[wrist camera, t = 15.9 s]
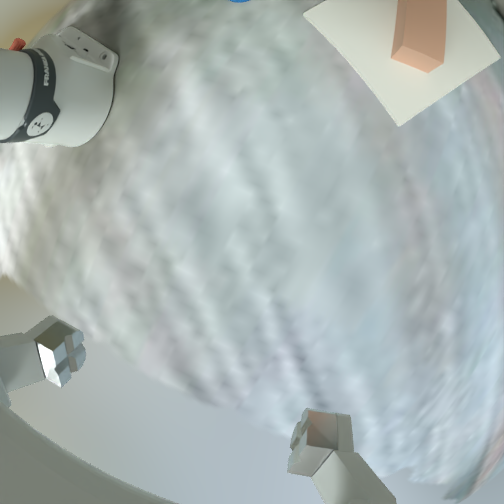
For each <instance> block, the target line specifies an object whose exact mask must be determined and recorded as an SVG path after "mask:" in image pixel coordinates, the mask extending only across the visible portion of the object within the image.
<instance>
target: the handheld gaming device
mask: <svg viewBox="0 0 504 504" xmlns="http://www.w3.org/2000/svg"><path fill="white" fill-rule="evenodd" d="M230 1H232V2H246V1H249V0H230Z"/></svg>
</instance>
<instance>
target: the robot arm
mask: <svg viewBox="0 0 504 504" xmlns="http://www.w3.org/2000/svg"><path fill="white" fill-rule="evenodd" d="M25 45H26V43H25V41H24V40H22V39H20V38H16V39H15V40H14V42H13V44H12V46H11V47H10V48H9V49H2V48H0V143H14V142H23V143H37V144H43V146H44V147H49V148H51V147H54V146H57V145H62V146H67V147H77V146H80V145H82V144H84V143H86V142H87V141H89V140H90V139H91V138H92V137H93V136H94V135H95V134H96V133H97V132H98V131H99V129H100V128H101V127H102V125H103V123H104V121H105V119H106V117H107V115H108V113H109V110H110V107H111V103H112V98H113V77H114V73H115V70H116V67H117V64H118V59H119V58H118V55H117V54H116V53H114V52H113V51H111V50H110V49H108V48H107V47H105V46H104V45H102V44H101V43H99V42H98V41H96V40H94V39H93V38H91V37H90V36H88V35H86V34H85V33H83V32H82V31H80V30H78V29H77V28H75V27H71V26H69V27H67V28H65V29H63V30H62V31H61V32H59V33H58V34H57V35H53V34H47V35H44V36H43V37H41V38H40V39H39V40H37V41H36V42H35V43H34V45H33V46H32V47H31V48H30V49H23V50H22V48H23V47H24V46H25ZM106 56H107V57H106ZM105 57H106V59H105ZM83 341H84V336H83V332H81V331H80V330H78V329H76V328H75V327H73V326H71V325H69V324H67V323H66V322H64V321H62V320H60V319H58V318H56V317H55V316H48V317H47V318H45V319H44V320H43V321H41V322H40V323H39V324H37V325H36V326H34V327H33V328H32V329H30V330H29V331H28V332H26V333H25V334H23V333H16V334H10V335H4V336H0V504H178V503H175V502H173V501H170V500H167V499H165V498H162V497H159V496H156V495H154V494H152V493H149V492H146V491H144V490H142V489H140V488H137V487H135V486H133V485H131V484H128V483H126V482H124V481H122V480H120V479H118V478H116V477H114V476H112V475H110V474H107V473H106V472H104V471H102V470H100V469H98V468H96V467H95V466H93V465H91V464H89V463H87V462H86V461H84V460H82V459H80V458H79V457H77V456H75V455H74V454H72V453H70V452H69V451H67V450H66V449H64V448H62V447H61V446H59V445H58V444H56V443H55V442H53V441H52V440H50V439H49V438H47V437H46V436H45V435H43V434H42V433H40V432H39V431H38V430H36V429H35V428H33V427H32V426H31V425H30V424H28V423H27V422H26V421H24V420H23V419H22V418H20V417H19V416H18V415H17V414H16V413H14V412H13V411H12V410H11V409H9V407H10V406H11V400H10V398H9V396H8V394H7V393H8V392H11V391H14V390H16V389H19V388H22V387H25V386H28V385H31V384H33V383H36V382H39V381H42V380H44V379H45V378H46V379H48V380H49V381H51V382H53V383H54V384H56V385H58V386H59V387H63V386H64V385H65V384H66V383H67V382H68V381H69V380H70V379H71V373H72V372H75V371H78V370H79V369H80V368H81V367H82V365H83V363H84V361H85V357H86V352H85V348H84V346H83V344H82V342H83ZM290 448H291V449H292V451H293V452H292V453H291V455H290V456H289V462H288V470H287V473H291V474H297V475H302V476H309V477H311V479H312V481H313V483H314V485H315V486H316V488H317V490H318V492H319V494H320V496H321V498H322V500H323V501H324V503H325V504H396V498H395V497H394V496H393V495H392V493H391V492H390V491H389V490H388V489H387V487H386V486H385V485H384V484H383V483H382V482H381V480H380V479H379V478H378V477H377V475H376V474H375V473H374V472H373V471H372V469H371V468H370V467H369V466H368V464H367V463H366V462H365V461H364V460H363V458H362V457H361V456H360V455H359V453H355V452H354V445H353V434H352V424H351V417H350V415H346V414H339V413H333V412H327V411H321V410H316V409H310V408H306V409H305V410H304V412H303V414H302V419H301V421H300V422H298V423H297V425H296V427H295V429H294V431H293V434H292V438H291V444H290Z"/></svg>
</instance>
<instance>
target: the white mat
mask: <svg viewBox="0 0 504 504" xmlns="http://www.w3.org/2000/svg"><path fill="white" fill-rule="evenodd" d="M397 5H398V0H326V1H324V2H322V3H320V4H318V5H317V6H315V7H313V8H311V9H310V10H308V11H306V12H304V13H303V16H304V17H305V18H306V19H307V20H308V21H309V22H310V23H311V24H312V25H313V26H314V27H315V28H316V29H317V30H318V31H319V32H320V33H321V34H322V35H323V36H324V37H325V38H326V39H327V40H328V41H329V42H330V43H331V44H332V45H333V46H334V47H335V48H336V49H337V50H338V51H339V53H340V54H341V55H342V56H343V57H344V58H345V59H346V60H347V61H348V63H349V64H350V65H351V66H352V67H353V68H354V70H355V71H356V72H357V73H358V74H359V75H360V77H361V78H362V79H363V80H364V82H365V83H366V84H367V85H368V87H369V88H370V89H371V90H372V92H373V93H374V94H375V95H376V97H377V98H378V99H379V101H380V102H381V103H382V105H383V106H384V107H385V109H386V110H387V112H388V113H389V114H390V116H391V117H392V119H393V120H394V121H395V123H396V124H397V126H398V127H399V126H401V125H402V124H404V123H405V122H407V121H408V120H410V119H411V118H412V117H414V116H415V115H417V114H418V113H420V112H421V111H423V110H424V109H426V108H427V107H428V106H430V105H431V104H433V103H434V102H436V101H437V100H439V99H440V98H442V97H443V96H445V95H446V94H448V93H449V92H450V91H452V90H453V89H455V88H456V87H458V86H459V85H461V84H462V83H464V82H465V81H467V80H468V79H470V78H471V77H473V76H474V75H476V74H477V73H479V72H480V71H482V70H483V69H485V68H486V67H488V66H489V65H491V64H492V63H494V62H495V61H497V60H498V59H500V58H501V57H500V55H499V54H498V52H497V51H496V49H495V48H494V46H493V45H492V43H491V42H490V40H489V39H488V38H487V36H486V35H485V34H484V32H483V31H482V29H481V28H480V27H479V25H478V24H477V23H476V22H475V20H474V19H473V18H472V17H471V15H470V14H469V13H468V12H467V10H466V9H465V8H464V7H463V6H462V5H461V3H460V2H459V1H458V0H447V21H446V41H445V54H444V63H443V64H442V65H440V66H439V67H437V68H435V69H434V70H432V71H431V72H429V73H426V72H423V71H421V70H419V69H416V68H414V67H411V66H409V65H406V64H404V63H401V62H399V61H396V60H393V59H391V53H392V46H393V39H394V32H395V24H396V15H397Z"/></svg>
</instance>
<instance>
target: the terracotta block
mask: <svg viewBox="0 0 504 504" xmlns="http://www.w3.org/2000/svg"><path fill="white" fill-rule="evenodd" d="M446 21H447V0H398V5H397V15H396V24H395V32H394V39H393V46H392V53H391V59H393V60H396V61H399V62H401V63H404V64H406V65H409V66H411V67H414V68H416V69H419V70H421V71H423V72H426V73H429V72H431V71H432V70H434V69H435V68H437V67H439V66H440V65H442V64H443V63H444V54H445V41H446Z"/></svg>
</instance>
